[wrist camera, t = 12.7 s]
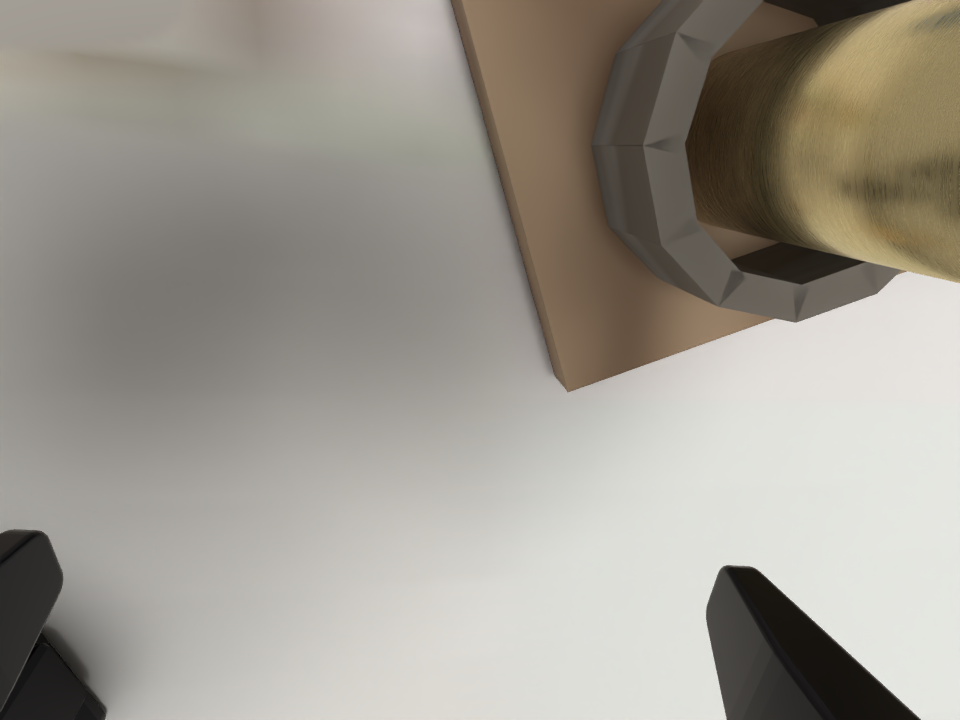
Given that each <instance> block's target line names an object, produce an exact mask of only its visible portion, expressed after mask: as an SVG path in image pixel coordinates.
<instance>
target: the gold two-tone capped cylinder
mask: <svg viewBox="0 0 960 720" xmlns="http://www.w3.org/2000/svg"><path fill="white" fill-rule="evenodd" d="M685 148H686V154H687V161H688V167H689V173H690V180H691V186H692V192H693V199H694V205H695V211H696V218H697V220H698V221H700V222H702V223H704V224H707V225H710V226H714V227H718V228H723V229H727V230H731V231H736V232H740V233H744V234H749V235H753V236H757V237H762V238H766V239H770V240H775V241H779V242H783V243H788V244H792V245H796V246H801V247H805V248H809V249H814V250H818V251H822V252H827V253H831V254H835V255H840V256H844V257H848V258H853V259H857V260H861V261H866V262H870V263H874V264H879V265H883V266H887V267H892V268H896V269H900V270H905V271H909V272H913V273H918V274H922V275H926V276H931V277H935V278H939V279H944V280H948V281H952V282H957V283H960V0H912V1H908V2H905V3H901V4H897V5H894V6H890V7H887V8H883V9H880V10H876V11H873V12H869V13H865V14H862V15H858V16H855V17H851V18H848V19H844V20H841V21H837V22H834V23H830V24H826V25H823V26H819V27H816V28H812V29H809V30H805V31H802V32H798V33H794V34H791V35H787V36H784V37H780V38H777V39H773V40H770V41H766V42H763V43H759V44H755V45H752V46H748V47H745V48H741V49H738V50H734V51H731V52H728V53H725V54H723V55H720V56H718V57H717V58H715V59H713V60H711V62H710V65H709V68H708V71H707V74H706V78H705V81H704V84H703V87H702V91H701V94H700V97H699V100H698V103H697V107H696V110H695V113H694V116H693V119H692V123H691V126H690V129H689V132H688V135H687V139H686V142H685Z"/></svg>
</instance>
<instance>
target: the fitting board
mask: <svg viewBox="0 0 960 720" xmlns="http://www.w3.org/2000/svg"><path fill="white" fill-rule="evenodd" d="M908 1H912V0H451V2H452V6H453V9H454V13H455V17H456V20H457V24H458V28H459V31H460V35H461V38H462V42H463V46H464V49H465V53H466V56H467V60H468V64H469V67H470V71H471V74H472V78H473V82H474V85H475V89H476V92H477V96H478V100H479V103H480V107H481V110H482V114H483V118H484V121H485V125H486V128H487V132H488V136H489V139H490V143H491V147H492V150H493V154H494V157H495V161H496V165H497V168H498V172H499V175H500V179H501V183H502V186H503V190H504V193H505V197H506V201H507V204H508V208H509V211H510V215H511V219H512V222H513V226H514V229H515V233H516V237H517V240H518V244H519V248H520V251H521V255H522V258H523V262H524V266H525V269H526V273H527V276H528V280H529V284H530V287H531V291H532V294H533V298H534V302H535V305H536V309H537V312H538V316H539V320H540V323H541V327H542V330H543V334H544V338H545V341H546V345H547V349H548V352H549V356H550V359H551V363H552V367H553V370H554V374H555V376H556V378H557V379H558V380H559V381H560V383H561V384H562V385H563V386H564V388H565V389H566V390H567V391H568V392H570V391H573V390H576V389H579V388H581V387H584V386H587V385H590V384H593V383H595V382H598V381H601V380H604V379H607V378H609V377H612V376H615V375H618V374H621V373H623V372H626V371H629V370H632V369H635V368H637V367H640V366H643V365H646V364H649V363H651V362H654V361H657V360H660V359H663V358H665V357H668V356H671V355H674V354H677V353H679V352H682V351H685V350H688V349H691V348H693V347H696V346H699V345H702V344H705V343H707V342H710V341H713V340H716V339H719V338H721V337H724V336H727V335H730V334H733V333H735V332H738V331H741V330H744V329H747V328H749V327H752V326H755V325H758V324H761V323H763V322H766V321H769V320H772V319H775V318H776V319H781V320H786V321H791V322H799V321H802V320H805V319H807V318H810V317H813V316H816V315H819V314H821V313H824V312H827V311H830V310H832V309H835V308H838V307H841V306H844V305H846V304H849V303H852V302H855V301H858V300H860V299H863V298H866V297H869V296H872V295H874V294H877V293H878V292H879V291H880V290H881V289H882V288H883V287H884V286H885V285H886V284H887V283H888V282H889V281H890V280H892V279H893V278H894V277H895V276H896V275H898V274H900V273H903V272H906V271H905V270H900V269H896V268H892V267H887V266H883V265H879V264H874V263H870V262H866V261H861V260H857V259H853V258H848V257H844V256H840V255H835V254H831V253H827V252H822V251H818V250H814V249H809V248H805V247H801V246H796V245H792V244H788V243H783V242H779V241H775V240H770V239H766V238H762V237H757V236H753V235H749V234H744V233H740V232H736V231H731V230H727V229H723V228H718V227H714V226H710V225H707V224H704V223H702V222H700V221H698V220H697V218H696V211H695V205H694V199H693V192H692V186H691V180H690V173H689V167H688V161H687V154H686V148H685V142H686V139H687V135H688V132H689V129H690V126H691V123H692V119H693V116H694V113H695V110H696V107H697V103H698V100H699V97H700V94H701V91H702V87H703V84H704V81H705V78H706V74H707V71H708V68H709V65H710V62H711V60H713V59H715V58H717V57H718V56H720V55H723V54H725V53H728V52H731V51H734V50H738V49H741V48H745V47H748V46H752V45H755V44H759V43H763V42H766V41H770V40H773V39H777V38H780V37H784V36H787V35H791V34H794V33H798V32H802V31H805V30H809V29H812V28H816V27H819V26H823V25H826V24H830V23H834V22H837V21H841V20H844V19H848V18H851V17H855V16H858V15H862V14H865V13H869V12H873V11H876V10H880V9H883V8H887V7H890V6H894V5H897V4H901V3H905V2H908Z"/></svg>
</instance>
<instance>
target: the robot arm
mask: <svg viewBox="0 0 960 720" xmlns="http://www.w3.org/2000/svg"><path fill="white" fill-rule="evenodd" d="M62 585H63V572H62V569H61V567H60V564H59V562H58V560H57V557H56V555H55V552H54V550H53V547H52V545H51V542H50V540H49V538H48V536H47V535H46V534H45V533H43V532H42V531H37V530H16V529H14V530H8V531H5V532H3V533H1V534H0V720H105V717H106V716H105V713H104V712H103V710H102V709H101V708H100V707H99V705H98V704H97V703H96V702H95V700H94V699H93V698H92V696H91V695H90V694H89V693H88V691H87V690H86V689H85V688H84V686H83V685H82V684H81V683H80V681H79V680H78V679H77V677H76V676H75V675H74V674H73V672H72V671H71V670H70V669H69V667H68V666H67V665H66V664H65V662H64V661H63V660H62V658H61V657H60V656H59V655H58V653H57V652H56V651H55V650H54V648H53V647H52V646H51V645H50V643H49V642H48V641H47V639H46V638H45V637H44V636H43V634H42V633H41V631H42V629H43V627H44V625H45V622H46V620H47V618H48V616H49V614H50V612H51V610H52V608H53V606H54V604H55V602H56V600H57V598H58V596H59V594H60V591H61V588H62ZM706 620H707V627H708V632H709V636H710V641H711V646H712V651H713V656H714V660H715V665H716V670H717V675H718V680H719V685H720V689H721V694H722V699H723V704H724V709H725V714H726V718H727V720H921V719H920V718H919V717H918V716H917V715H915V714H914V713H913V712H912V711H911V710H910V709H909V708H908V707H907V706H906V705H905V704H903V703H902V702H901V701H900V700H899V699H898V698H897V697H896V696H895V695H894V694H893V693H891V692H890V691H889V690H888V689H887V688H886V687H885V686H884V685H883V684H882V683H881V682H880V681H878V680H877V679H876V678H875V677H874V676H873V675H872V674H871V673H870V672H869V671H868V670H866V669H865V668H864V667H863V666H862V665H861V664H860V663H859V662H858V661H857V660H856V659H854V658H853V657H852V656H851V655H850V654H849V653H848V652H847V651H846V650H845V649H844V648H843V647H841V646H840V645H839V644H838V643H837V642H836V641H835V640H834V639H833V638H832V637H831V636H829V635H828V634H827V633H826V632H825V631H824V630H823V629H822V628H821V627H820V626H819V625H817V624H816V623H815V622H814V621H813V620H812V619H811V618H810V617H809V616H808V615H807V614H805V613H804V612H803V611H802V610H801V609H800V608H799V607H798V606H797V605H796V604H795V603H794V602H792V601H791V600H790V599H789V598H788V597H787V596H786V595H785V594H784V593H783V592H782V591H780V590H779V589H778V588H777V587H776V586H775V585H774V584H773V583H772V582H771V581H770V580H768V579H767V578H766V577H765V576H764V575H763V574H762V573H761V572H760V571H758V570H757V569H755V568H753V567H750V566H732V565H726V566H723V567H722V568H721V569H720V571H719V573H718V575H717V578H716V581H715V584H714V587H713V590H712V593H711V595H710V598H709V601H708V604H707V610H706Z"/></svg>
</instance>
